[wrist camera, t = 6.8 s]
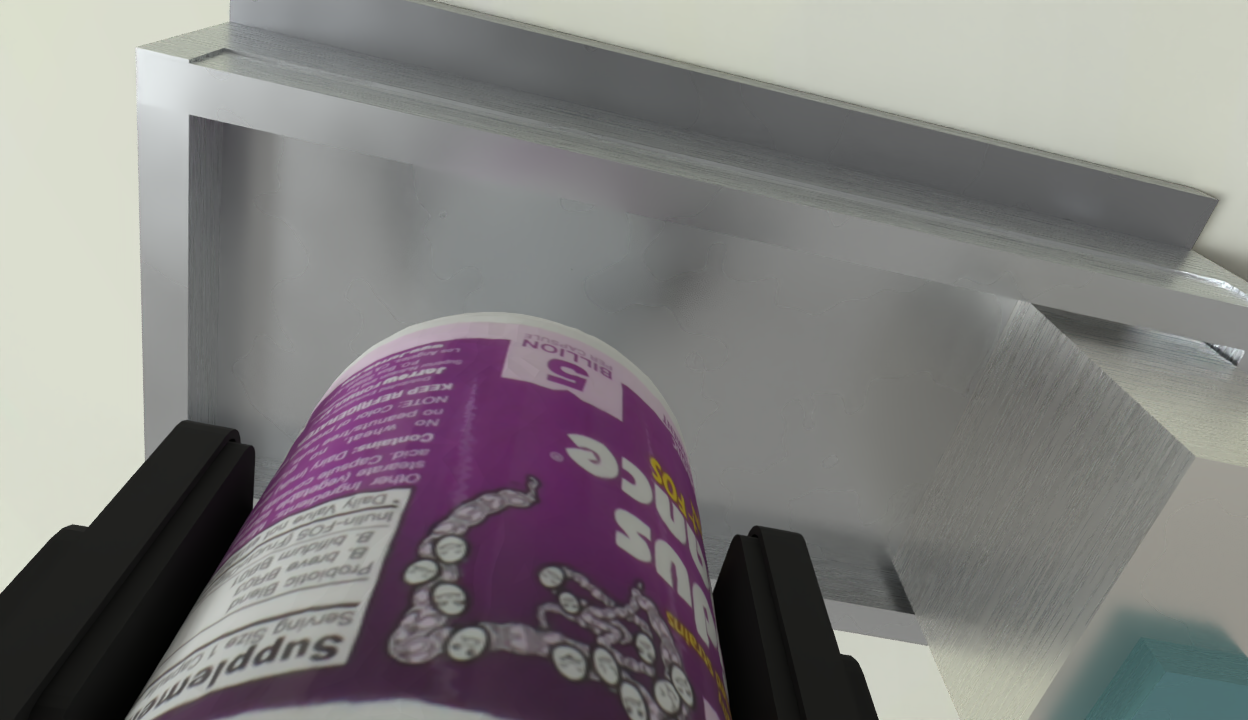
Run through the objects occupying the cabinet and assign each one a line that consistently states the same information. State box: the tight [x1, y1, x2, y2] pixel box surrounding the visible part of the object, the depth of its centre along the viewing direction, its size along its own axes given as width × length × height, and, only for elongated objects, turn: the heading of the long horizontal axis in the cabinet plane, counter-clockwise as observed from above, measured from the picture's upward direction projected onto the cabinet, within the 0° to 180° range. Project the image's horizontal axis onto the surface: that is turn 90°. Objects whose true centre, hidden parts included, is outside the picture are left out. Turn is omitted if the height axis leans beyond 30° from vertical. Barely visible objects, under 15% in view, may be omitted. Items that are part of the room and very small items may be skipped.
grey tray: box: [136, 0, 1248, 720], centre depth 14 cm, size 10×18×8 cm, turn 77°
